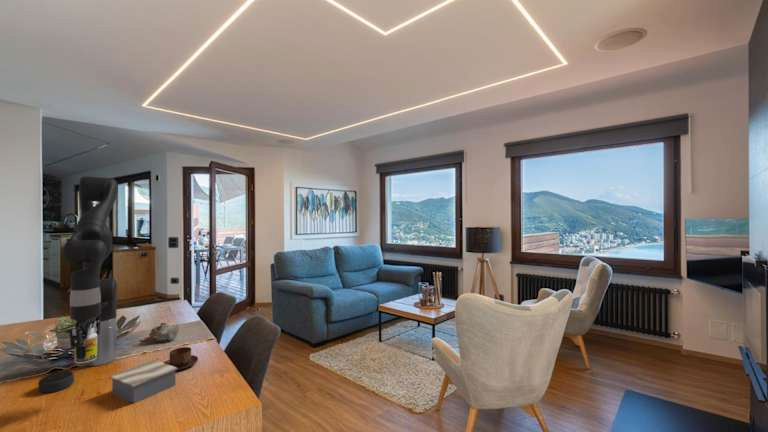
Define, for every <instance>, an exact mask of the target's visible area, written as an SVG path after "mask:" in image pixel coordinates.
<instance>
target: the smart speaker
mask: <svg viewBox="0 0 768 432" xmlns="http://www.w3.org/2000/svg"><path fill="white" fill-rule="evenodd" d="M74 382H75V374H74V372H72V371H68V370H67V371H59V372H53V373H51V374H48V375H46V376H44V377H42V378H41V379H40V380H39V381H38V385H37V387H38V388H37V389H38V391H39V393H42V394H51V393H54V392H55V393H56V392H59V391H62V390H65V389H67V388H69V387H70V386H72V385H73V384H74Z"/></svg>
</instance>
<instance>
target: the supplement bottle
mask: <svg viewBox="0 0 768 432" xmlns="http://www.w3.org/2000/svg"><path fill="white" fill-rule="evenodd" d="M82 336H85V335H82ZM82 342H83V339H82ZM85 346H86V357H85V358H83V359H76V347H74V363H76V364H80V365H81V364H88V362H91V361H93V360H95V359H96V358H97V334H96V333H94V327H92V328H91V329H90V334H89V338H88V339H86V345H85Z"/></svg>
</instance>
